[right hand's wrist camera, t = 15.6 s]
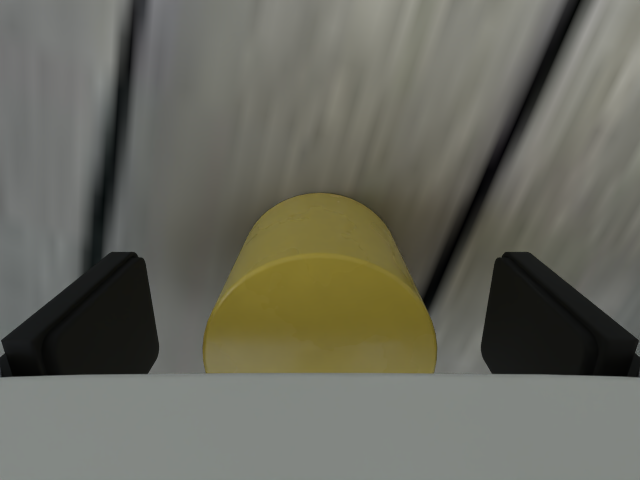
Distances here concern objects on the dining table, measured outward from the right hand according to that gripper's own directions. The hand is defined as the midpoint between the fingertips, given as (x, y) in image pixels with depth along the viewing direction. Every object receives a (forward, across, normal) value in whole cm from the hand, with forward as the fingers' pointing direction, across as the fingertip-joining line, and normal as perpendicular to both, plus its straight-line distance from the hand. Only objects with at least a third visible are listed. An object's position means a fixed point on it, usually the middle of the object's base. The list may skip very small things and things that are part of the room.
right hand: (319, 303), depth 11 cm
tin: (+2, 0, 0) cm, 2 cm away
